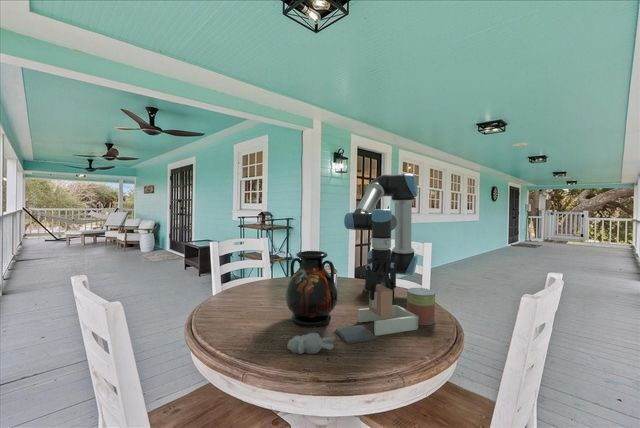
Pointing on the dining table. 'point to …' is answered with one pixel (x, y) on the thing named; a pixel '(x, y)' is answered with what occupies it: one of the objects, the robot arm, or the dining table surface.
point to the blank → (382, 301)
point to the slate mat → (355, 334)
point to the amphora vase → (311, 290)
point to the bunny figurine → (309, 343)
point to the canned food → (422, 304)
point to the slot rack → (390, 320)
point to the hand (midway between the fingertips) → (380, 306)
